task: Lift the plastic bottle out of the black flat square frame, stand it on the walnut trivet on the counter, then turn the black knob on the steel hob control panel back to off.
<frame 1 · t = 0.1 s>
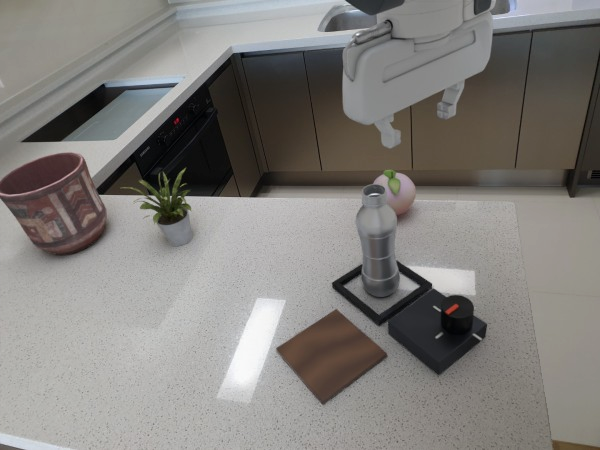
hand: (419, 130, 56), 31 cm above the table, tool pointing down, fingers open, 8 cm apart
pottery: (78, 239, 107), on the table
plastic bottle: (381, 288, 79), resting in black flat square frame
house plant: (175, 242, 100), on the table
knob: (456, 313, 66), point 5 cm above the table, hinge at 90.0°
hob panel: (435, 335, 69), on the table
decorative fruit: (395, 213, 96), on the table
black flat square frame: (381, 288, 79), on the table
trivet: (330, 354, 70), on the table
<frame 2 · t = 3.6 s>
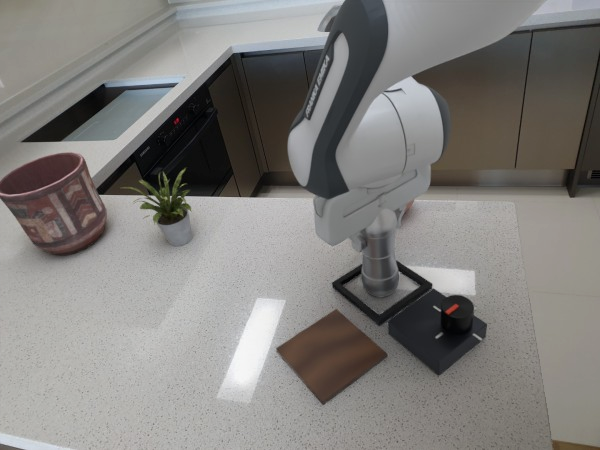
hand: (377, 237, 72), 11 cm above the table, tool pointing down, fingers closed on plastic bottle, 6 cm apart
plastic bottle: (380, 288, 79), resting in black flat square frame, touching gripper
everything else where it was.
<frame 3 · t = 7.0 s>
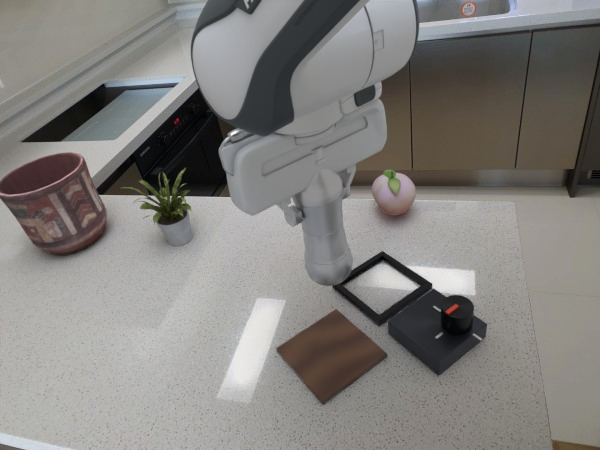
hand: (319, 209, 56), 25 cm above the table, tool pointing down, fingers closed on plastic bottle, 6 cm apart
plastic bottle: (331, 276, 63), point 14 cm above the table, touching gripper
everything else where it was.
when the fingers open (12 cm above the table, at t = 10.7 s): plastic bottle stays where it is, resting on trivet.
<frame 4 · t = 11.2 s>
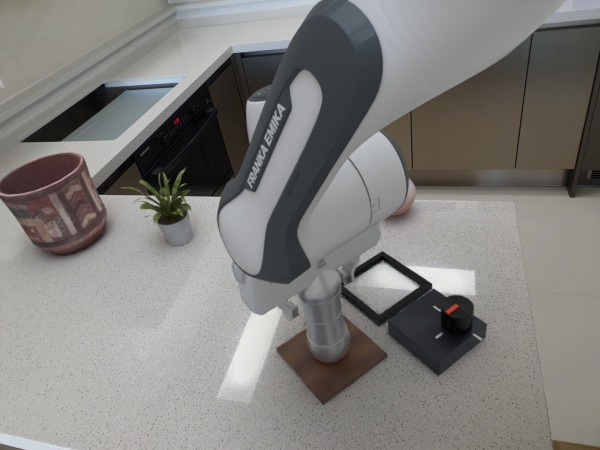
hand: (320, 297, 62), 12 cm above the table, tool pointing down, fingers open, 8 cm apart
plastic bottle: (330, 351, 69), point 1 cm above the table, touching trivet
everything else where it was.
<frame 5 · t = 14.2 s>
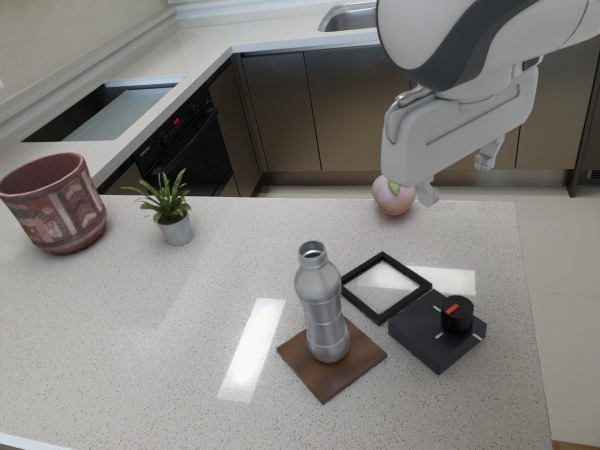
hand: (457, 185, 53), 27 cm above the table, tool pointing down, fingers open, 8 cm apart
nothing on the table moved.
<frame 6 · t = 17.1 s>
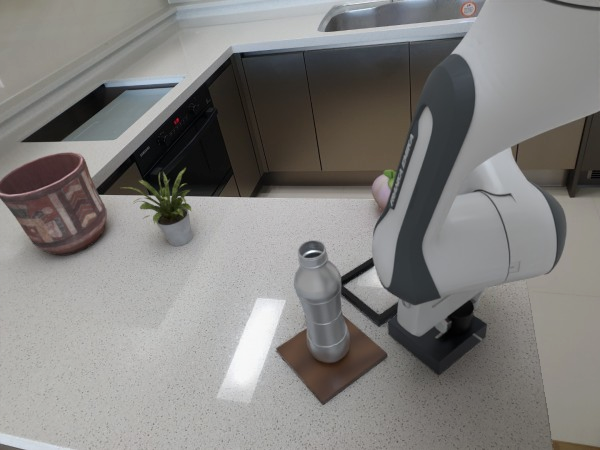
hand: (456, 317, 66), 4 cm above the table, tool pointing down, fingers closed on knob, 4 cm apart
knob: (456, 313, 66), point 5 cm above the table, hinge at 90.1°, touching gripper
everything else where it was.
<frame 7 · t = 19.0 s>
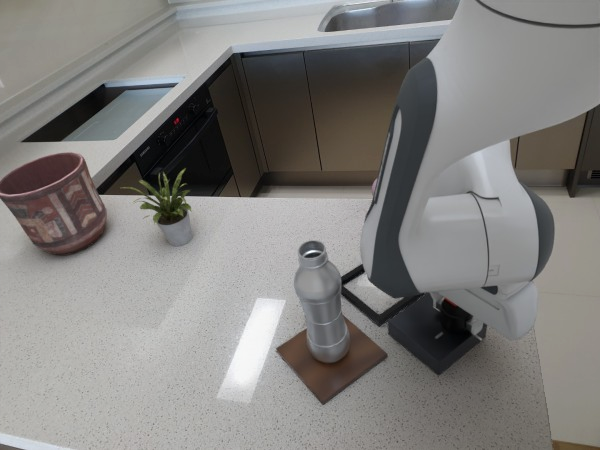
hand: (457, 318, 66), 4 cm above the table, tool pointing down, fingers closed on knob, 4 cm apart
knob: (456, 313, 66), point 5 cm above the table, hinge at -1.5°, touching gripper
everything else where it was.
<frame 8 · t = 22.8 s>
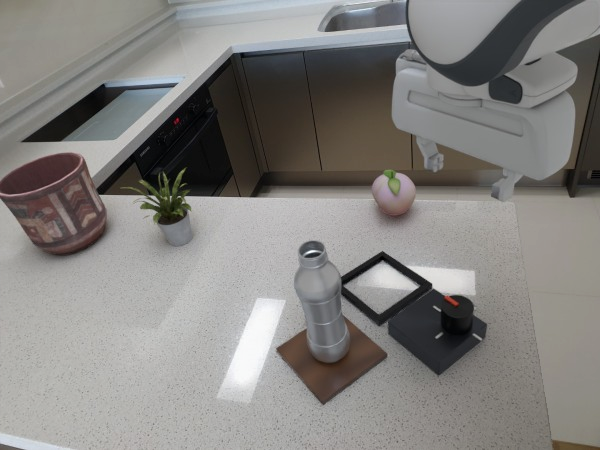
hand: (465, 182, 53), 27 cm above the table, tool pointing down, fingers open, 8 cm apart
knob: (456, 313, 66), point 5 cm above the table, hinge at -1.8°
everything else where it was.
at the end: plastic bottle inside the target area on the trivet (0.1 cm from its centre), point 0.6 cm above the trivet's base; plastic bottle tilted 0°; knob at -2° (first picture: +90°) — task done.
